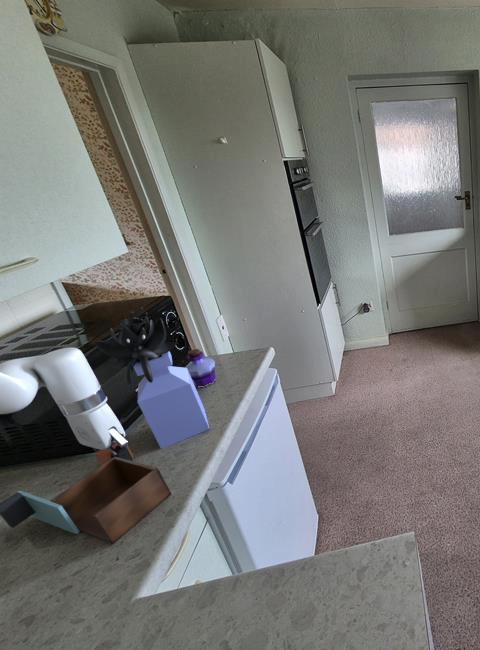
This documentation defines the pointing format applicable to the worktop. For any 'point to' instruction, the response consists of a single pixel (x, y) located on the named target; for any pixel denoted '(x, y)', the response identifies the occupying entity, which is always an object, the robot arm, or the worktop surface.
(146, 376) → the vase
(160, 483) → the crate
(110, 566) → the worktop surface
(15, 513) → the light blue flat panel
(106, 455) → the block
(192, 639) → the worktop surface
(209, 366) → the potion bottle
